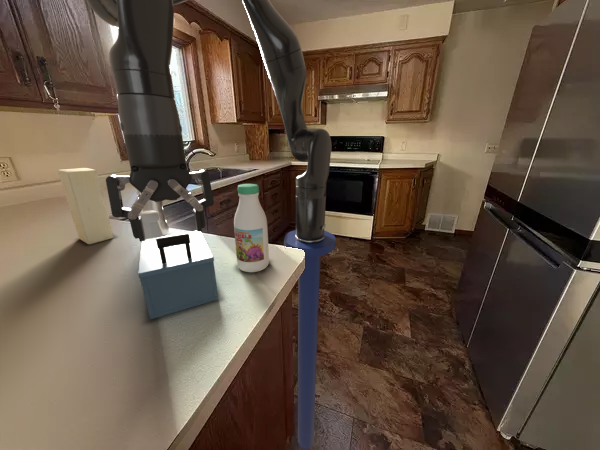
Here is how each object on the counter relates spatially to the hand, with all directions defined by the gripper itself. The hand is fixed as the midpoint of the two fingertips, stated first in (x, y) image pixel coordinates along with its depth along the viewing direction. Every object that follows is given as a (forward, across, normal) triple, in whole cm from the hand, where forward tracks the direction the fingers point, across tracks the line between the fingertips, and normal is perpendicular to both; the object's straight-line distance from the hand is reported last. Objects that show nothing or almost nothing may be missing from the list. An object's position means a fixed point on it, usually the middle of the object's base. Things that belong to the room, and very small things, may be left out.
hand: (172, 234), depth 41 cm
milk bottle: (+14, -16, -8) cm, 24 cm away
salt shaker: (+15, +4, -23) cm, 27 cm away
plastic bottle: (+15, +4, -40) cm, 43 cm away
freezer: (+14, 0, -6) cm, 16 cm away
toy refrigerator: (+15, +20, -48) cm, 54 cm away
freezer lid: (+6, 0, -6) cm, 8 cm away
